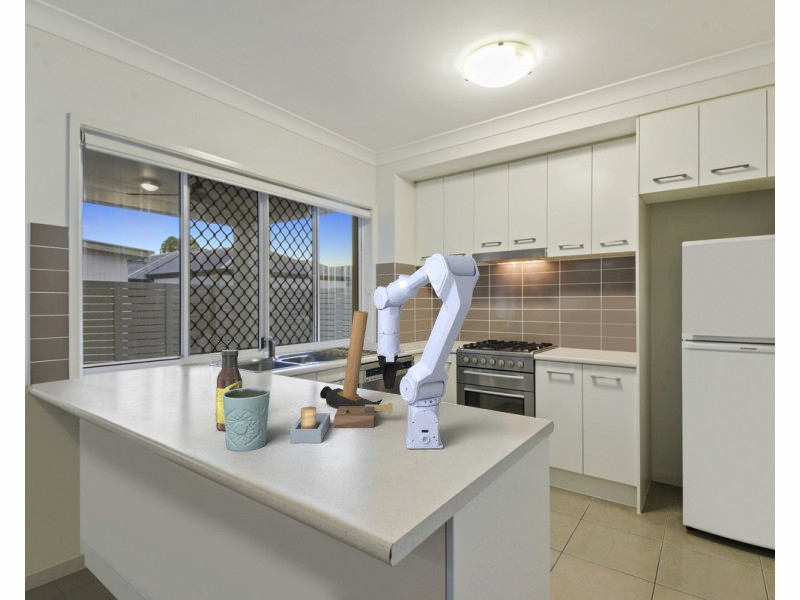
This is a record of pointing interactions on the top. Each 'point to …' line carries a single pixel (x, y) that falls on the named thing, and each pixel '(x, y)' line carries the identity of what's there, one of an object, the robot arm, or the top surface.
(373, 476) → the top surface
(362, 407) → the socket block
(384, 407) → the drift key
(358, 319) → the hammer
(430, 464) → the top surface
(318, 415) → the divided storage tray
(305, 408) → the dowel peg
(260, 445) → the teal embossed cup
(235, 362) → the sauce bottle
